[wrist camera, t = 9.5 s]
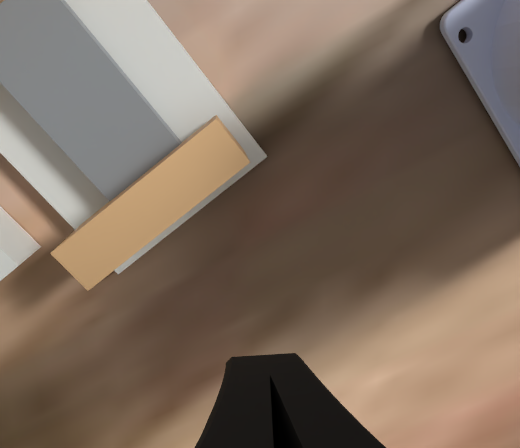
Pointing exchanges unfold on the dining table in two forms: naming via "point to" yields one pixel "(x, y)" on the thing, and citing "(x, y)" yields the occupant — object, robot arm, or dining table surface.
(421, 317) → the dining table surface
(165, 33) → the vise base
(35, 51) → the sliding jaw
